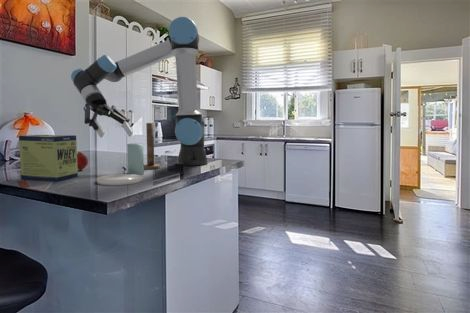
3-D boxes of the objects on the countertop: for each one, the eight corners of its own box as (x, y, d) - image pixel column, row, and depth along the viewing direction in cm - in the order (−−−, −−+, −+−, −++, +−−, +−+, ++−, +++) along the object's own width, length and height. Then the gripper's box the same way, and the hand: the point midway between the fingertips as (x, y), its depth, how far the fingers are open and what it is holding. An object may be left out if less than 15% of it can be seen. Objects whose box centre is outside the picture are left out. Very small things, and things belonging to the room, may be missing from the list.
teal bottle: (137, 172, 129) (137, 143, 128) (147, 174, 125) (146, 143, 124) (124, 174, 124) (123, 143, 123) (133, 176, 121) (133, 144, 119)
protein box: (57, 181, 108) (55, 136, 106) (20, 179, 112) (17, 135, 110) (79, 176, 118) (77, 135, 116) (44, 174, 122) (42, 134, 120)
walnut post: (152, 166, 147) (151, 123, 145) (163, 167, 142) (163, 123, 140) (137, 168, 140) (136, 123, 138) (149, 170, 136) (148, 123, 133)
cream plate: (126, 175, 121) (126, 172, 121) (151, 180, 112) (151, 177, 112) (88, 181, 109) (88, 178, 109) (112, 187, 100) (112, 183, 100)
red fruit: (81, 168, 137) (80, 150, 136) (91, 169, 135) (90, 151, 134) (69, 170, 132) (68, 151, 131) (80, 171, 130) (79, 152, 129)
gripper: (115, 106, 147) (137, 139, 141) (61, 103, 126) (85, 142, 120) (122, 94, 144) (145, 128, 137) (68, 89, 123) (93, 128, 117)
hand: (117, 134), depth 129 cm, fingers open, 13 cm apart
